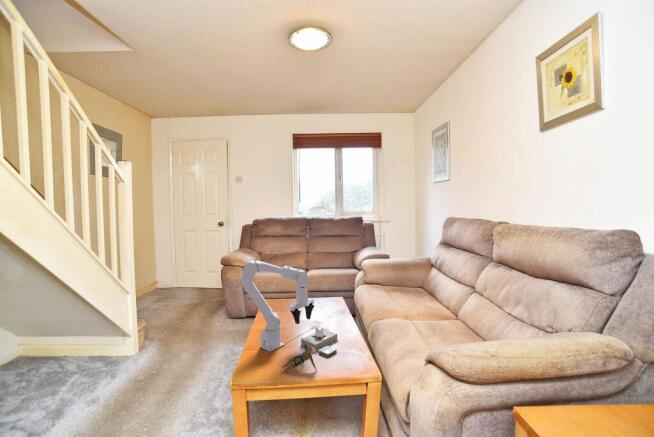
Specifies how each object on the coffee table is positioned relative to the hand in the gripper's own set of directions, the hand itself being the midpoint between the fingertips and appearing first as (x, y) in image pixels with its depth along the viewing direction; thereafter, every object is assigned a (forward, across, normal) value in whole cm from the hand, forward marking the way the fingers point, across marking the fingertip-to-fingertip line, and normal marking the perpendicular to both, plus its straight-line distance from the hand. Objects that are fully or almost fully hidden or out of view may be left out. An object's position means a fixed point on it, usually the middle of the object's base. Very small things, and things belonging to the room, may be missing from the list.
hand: (302, 321), depth 151 cm
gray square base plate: (+10, -2, -17) cm, 20 cm away
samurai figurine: (+11, -19, -15) cm, 27 cm away
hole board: (+10, +4, -7) cm, 13 cm away
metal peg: (+11, +4, -7) cm, 13 cm away
